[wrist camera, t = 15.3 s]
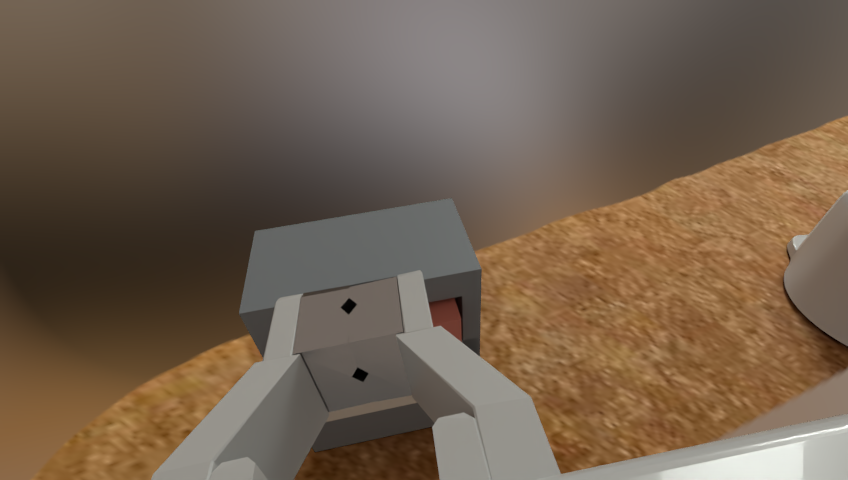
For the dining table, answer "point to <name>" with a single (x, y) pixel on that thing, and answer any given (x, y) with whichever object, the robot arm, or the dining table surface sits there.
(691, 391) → the dining table surface
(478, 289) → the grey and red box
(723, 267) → the dining table surface
